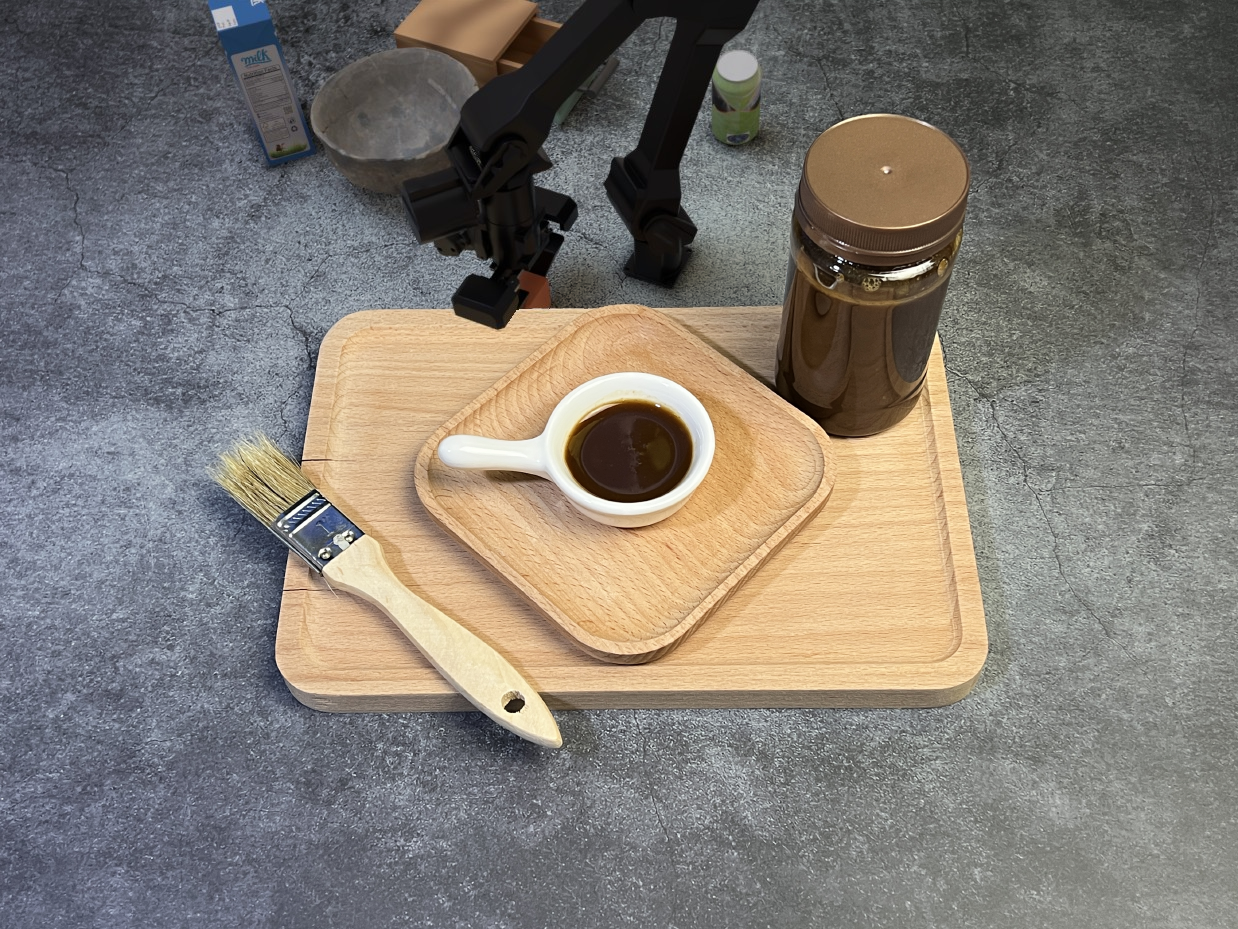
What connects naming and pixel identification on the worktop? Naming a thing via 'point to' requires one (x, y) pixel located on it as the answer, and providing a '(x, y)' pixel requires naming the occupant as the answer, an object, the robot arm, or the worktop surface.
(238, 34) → the milk carton
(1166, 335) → the worktop surface
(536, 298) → the block
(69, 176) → the worktop surface
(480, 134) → the robot arm
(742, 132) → the beverage can
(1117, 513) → the worktop surface
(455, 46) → the cabinet
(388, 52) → the bowl
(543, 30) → the drawer
